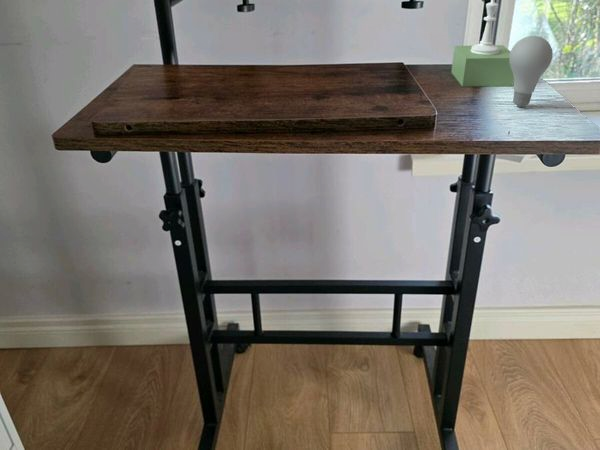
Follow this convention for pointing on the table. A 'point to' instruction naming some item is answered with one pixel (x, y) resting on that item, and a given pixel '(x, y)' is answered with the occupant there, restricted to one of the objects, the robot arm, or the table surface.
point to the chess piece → (487, 33)
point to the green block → (482, 67)
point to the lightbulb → (528, 66)
